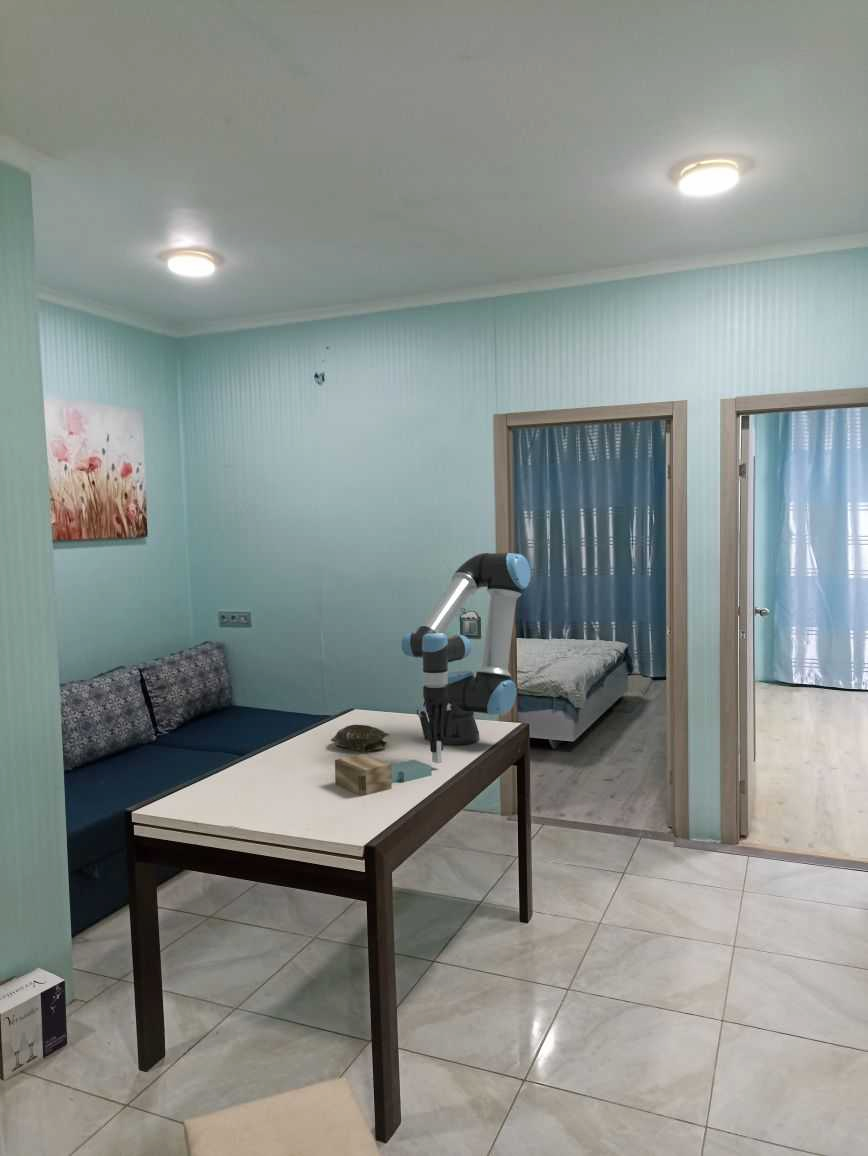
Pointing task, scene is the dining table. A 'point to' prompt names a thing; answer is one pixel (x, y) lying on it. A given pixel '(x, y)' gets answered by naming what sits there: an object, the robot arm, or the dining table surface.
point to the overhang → (363, 774)
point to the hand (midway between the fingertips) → (436, 762)
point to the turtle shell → (360, 738)
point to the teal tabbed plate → (409, 771)
